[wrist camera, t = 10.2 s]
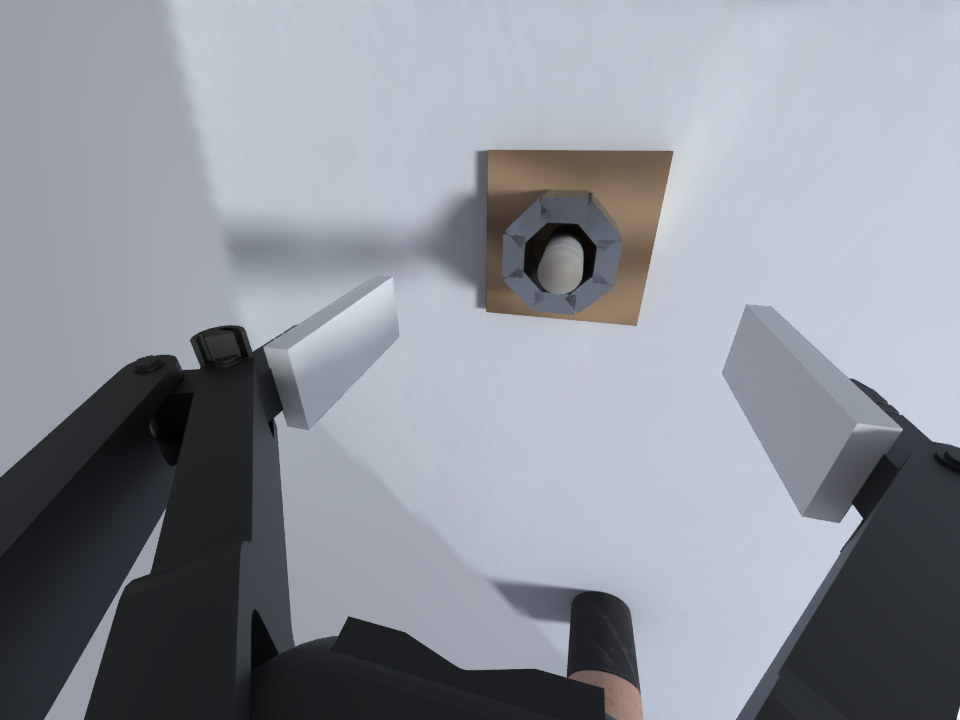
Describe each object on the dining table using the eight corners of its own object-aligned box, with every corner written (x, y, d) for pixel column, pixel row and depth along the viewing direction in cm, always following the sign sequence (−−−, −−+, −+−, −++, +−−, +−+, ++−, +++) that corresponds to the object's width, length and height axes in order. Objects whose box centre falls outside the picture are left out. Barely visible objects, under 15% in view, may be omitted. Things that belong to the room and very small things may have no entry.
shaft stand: (491, 150, 28) (454, 151, 20) (670, 150, 26) (705, 153, 18) (488, 307, 34) (459, 355, 26) (635, 321, 31) (650, 377, 24)
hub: (517, 188, 28) (504, 196, 24) (622, 191, 26) (629, 200, 22) (512, 286, 31) (501, 308, 27) (606, 293, 30) (609, 318, 26)
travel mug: (606, 583, 47) (616, 832, 30) (646, 619, 48) (678, 877, 31) (557, 599, 51) (541, 830, 34) (595, 632, 52) (599, 870, 35)
